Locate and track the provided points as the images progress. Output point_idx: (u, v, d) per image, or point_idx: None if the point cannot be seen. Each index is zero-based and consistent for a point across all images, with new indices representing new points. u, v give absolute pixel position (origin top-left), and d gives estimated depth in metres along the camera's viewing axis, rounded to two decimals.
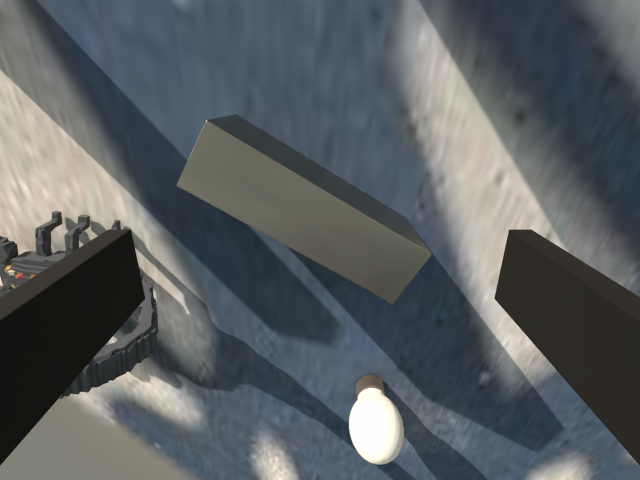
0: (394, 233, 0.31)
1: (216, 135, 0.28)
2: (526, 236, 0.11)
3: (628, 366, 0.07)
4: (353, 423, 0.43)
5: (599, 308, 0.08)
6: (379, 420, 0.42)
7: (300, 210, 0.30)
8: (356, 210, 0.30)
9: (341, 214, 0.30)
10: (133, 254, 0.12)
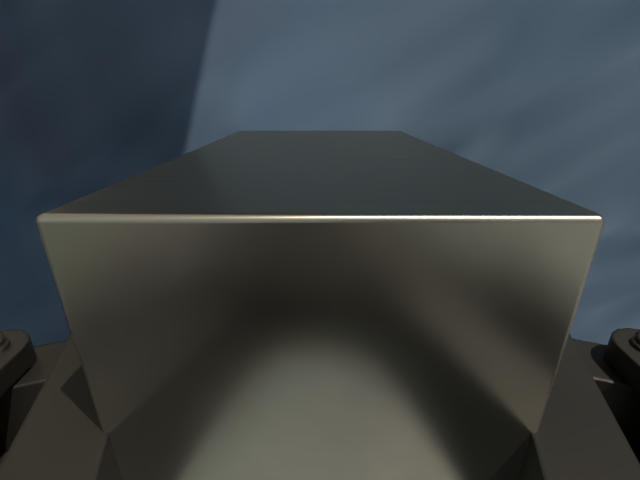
0: None
1: (524, 311, 0.04)
2: None
3: None
4: None
5: None
6: None
7: None
8: None
9: None
10: None
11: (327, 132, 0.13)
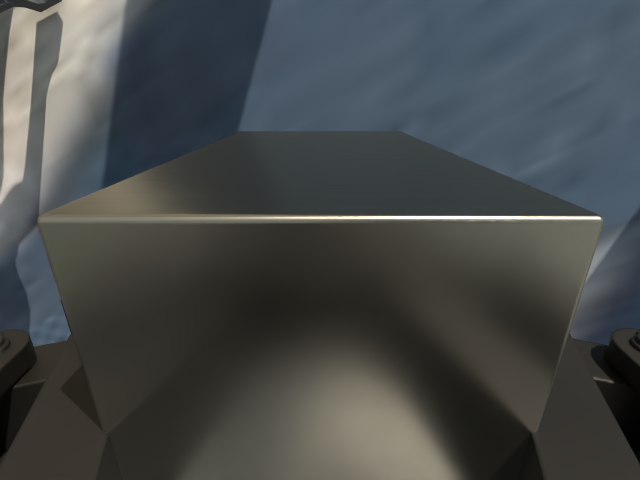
0: None
1: (523, 311, 0.04)
2: None
3: None
4: None
5: None
6: None
7: None
8: None
9: None
10: None
11: (327, 132, 0.13)
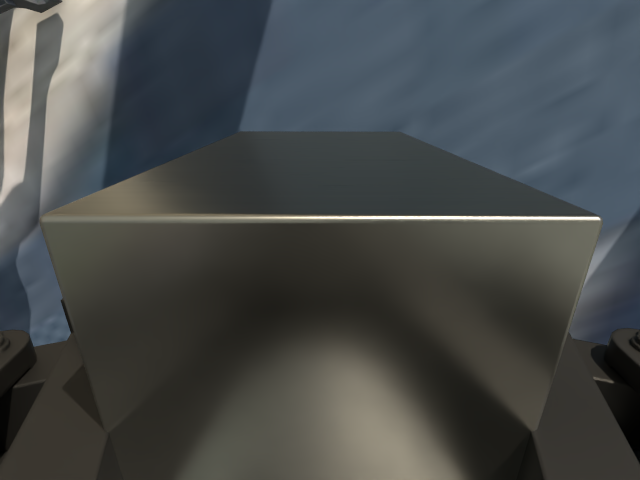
0: None
1: (523, 310, 0.04)
2: None
3: None
4: None
5: None
6: None
7: None
8: None
9: None
10: None
11: (327, 132, 0.13)
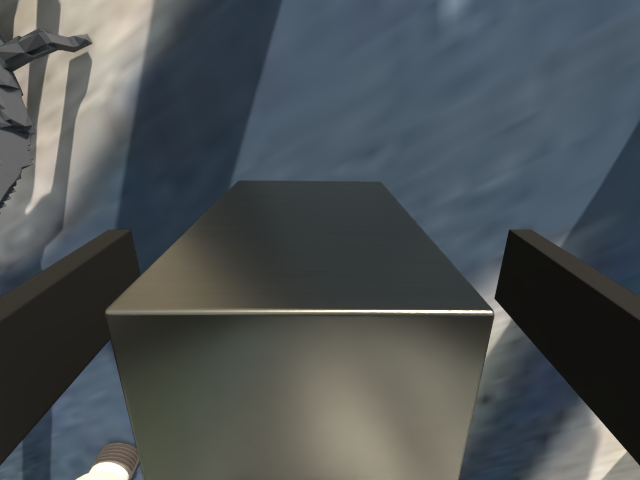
0: None
1: (445, 372, 0.06)
2: (526, 236, 0.11)
3: (628, 366, 0.07)
4: None
5: (599, 308, 0.08)
6: None
7: None
8: None
9: None
10: (133, 254, 0.12)
11: (316, 183, 0.14)
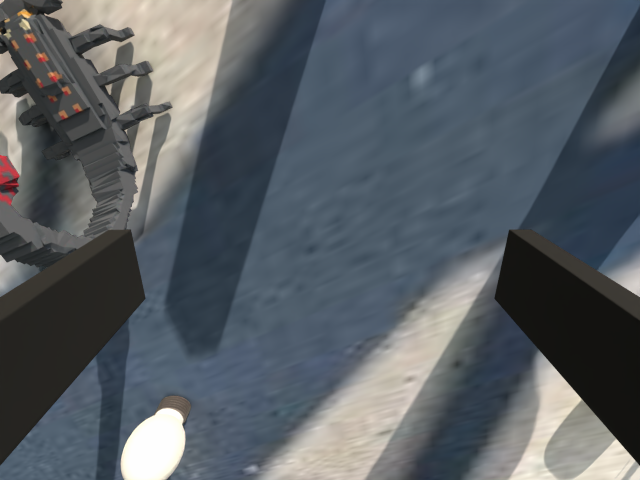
0: None
1: None
2: (526, 236, 0.11)
3: (628, 366, 0.07)
4: (144, 435, 0.41)
5: (599, 308, 0.08)
6: (167, 453, 0.41)
7: None
8: None
9: None
10: (133, 254, 0.12)
11: None
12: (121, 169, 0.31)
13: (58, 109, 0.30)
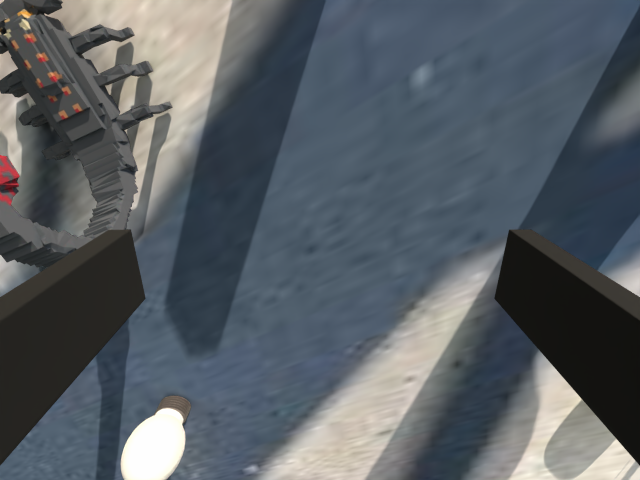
0: None
1: None
2: (526, 236, 0.11)
3: (628, 366, 0.07)
4: (144, 435, 0.41)
5: (599, 308, 0.08)
6: (167, 453, 0.41)
7: None
8: None
9: None
10: (133, 254, 0.12)
11: None
12: (121, 169, 0.31)
13: (58, 109, 0.30)
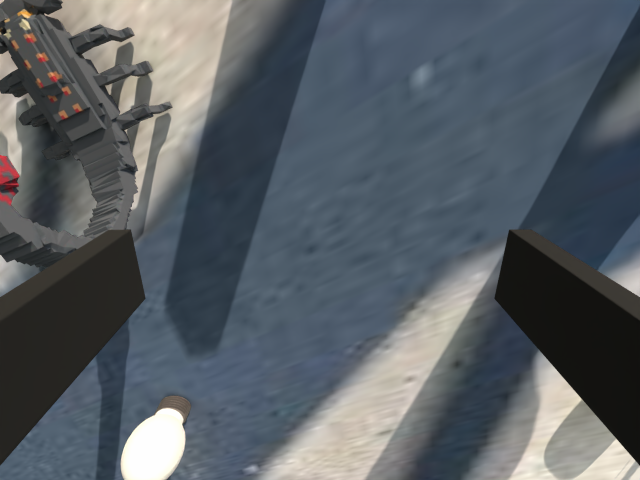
0: None
1: None
2: (526, 236, 0.11)
3: (628, 366, 0.07)
4: (144, 435, 0.41)
5: (599, 308, 0.08)
6: (167, 453, 0.41)
7: None
8: None
9: None
10: (133, 254, 0.12)
11: None
12: (121, 169, 0.31)
13: (58, 109, 0.30)
